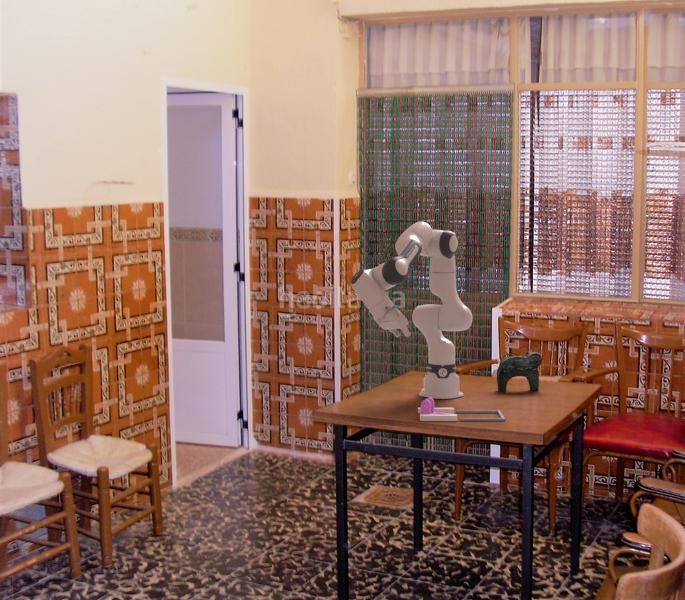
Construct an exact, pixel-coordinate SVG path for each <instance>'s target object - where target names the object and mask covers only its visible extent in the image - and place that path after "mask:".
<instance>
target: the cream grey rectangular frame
mask: <svg viewBox="0 0 685 600" xmlns="http://www.w3.org/2000/svg"><path fill="white" fill-rule="evenodd" d="M434 411H435V412H441V413H452V414H421V406H420V407H417V414H418V415H419V422H458V414H497V415H498V416H499V417H460V418H459V422H506V418H505V416H504V414H503V413H502V411H501V410H500V409H495V410H494V409H493V410H492V409H491V410H490V409H486V410H485V409H471V410H470V409H456V411H455V408H454V407H434Z"/></svg>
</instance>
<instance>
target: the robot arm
mask: <svg viewBox="0 0 685 600" xmlns="http://www.w3.org/2000/svg"><path fill="white" fill-rule="evenodd" d="M394 248H395V251H396V253H397V256H394V257H391V258H389V259H388V260H387V261H385V262H383V263H381V264H379V265H378V266H375V267H373V268H369V269H365V268H363V269H360V270H358V271H357V272H356V273H355V274H354V275H353V276H352V278H351V280H350V285H351V288H352V289H353V291H354V292H355V295H356V296H357V297H358V298H359V299H360V301H362V302H363V303H364V304H365V306H366V308H367V310H368V315H369V317H370V318H373V320H374V321H375V322H376V324H377V325H379V326H378V327H380V328H381V329H382V330H385V331H387V330H388V331H389V332H390V333H392V334H393V335H394V336H395V337H396V338H400V337H401V336H402V333H400V331H402V332H403V335H404V336H405V337H406V338H408V337H410V336H411V334H412V333H411V332H410V331H409V329H408V325H409V323H410V322H409V320H408V319H407V317H406V316H405V315H404V314H403V313H402V311H400V310H399V309H398V308H394V306H395V303H394V302H393V301H392V300H391V299H390V297H389V296H388V295H387V293H385V291H386V290H387V291H388V290H389V289H391V288H393V287H396V286H397V285H400V284H403V283H405V282H406V281H407V279H408V277H409V275H410V270H411V267H413V264H414V263H415V262H416V261H417V259H418V258H419V257H421V256H422V257H430V259H429V267H428V268H429V269H428V270H429V272H428V273H429V274H428V275H429V279H428V280H429V281H428V282H429V287H428V288H429V291H430V292H431V294H433V295H435V296H437V298H439V299H440V300H441V302H442V304H435V303H434V304H432V303H431V304H430V303H429V304H428V303H427V304H421V305H416V307H415V308H414V309H413V311H412V315H411V319H412V323H413V325H414V326H415V328H417V329H418V330H419V331H420V332H421V334H423V336H424V338H425V340H426V343H427V349H428V362H427V373H426V374H425V376H423V377H424V378H422V380H421V381H422V389H421V390H420V392H419V395H418V396H419V397H424V398H428V397H431V398H433V399H437V400H439V399H441V400H445V399H446V400H447V399H448V400H449V399H456V398H459V397H464V396H465V395H464V392H462V391H460V376H459V375H458V374H457V373H456V372H457V365H456V346H455V344H454V343H453V341H451V340H450V339H448V338H446V337H445V335H443V332H461V331H467V330H469V329H470V327H471V326H472V324H473V321H474V320H473V319H474V318H473V314H472V310H470V308H469V307H467V305H466V304H464V303H463V301H462V300H461V298H460V297H459V294H458V291H457V281H456V280H457V277H456V276H457V273H456V270H457V267H456V265H457V264H456V257H455V254H456V252H457V251H458V249H459V238H458V236H457V235H456V233H455V232H454V231H450V230H441V229H432V227H431V226H430V224H428V223H427V222H424V221H417V222H415V223H413V224H411V225H410V226H409V227H408V228H406V229H405V230H404V231H403V232H402V233H401V234H400V236H399V237H398V239H397V240H396V242H395V244H394ZM399 329H400V331H399ZM442 331H443V332H442Z"/></svg>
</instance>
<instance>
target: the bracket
mask: <svg viewBox="0 0 685 600" xmlns="http://www.w3.org/2000/svg"><path fill="white" fill-rule="evenodd" d="M420 407H421V414H452V413H441V412H435V411H434V408H435V400H434V398H431V397H425V399H423V400H422V401H421V402H420Z"/></svg>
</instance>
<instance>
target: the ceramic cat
mask: <svg viewBox="0 0 685 600" xmlns="http://www.w3.org/2000/svg"><path fill="white" fill-rule="evenodd" d="M523 347H526V348H527V349H529V347H528V346H527V345H525V344H524V345H521V346H519V349H522V348H523ZM525 353H526V354H524V355H520V354H517V353H513V352H511V353H506V354H504V355H503V356H502V357H501V358H500V361H499V364H498V368H497V370H496V382H497V384H496V385H497V391H498V392H499V393H503V392H504V393H506V392H507V385H508V382H509V381H510V380H511V379H513V378H515V377H517V378H518V377H522V378H523V377H524V378H526V380H527V383H528V386H529V391H530V392H539V386H540V375H539V367H540V366H541V365H542V362H543V357H542V354H541V353H540V350H539V349H538V348H537V349H536V350H535V351H532V352H530V351H529V350H526V351H525ZM509 355H513V356H509ZM506 356H507V357H506ZM504 357H505V358H504Z"/></svg>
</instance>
